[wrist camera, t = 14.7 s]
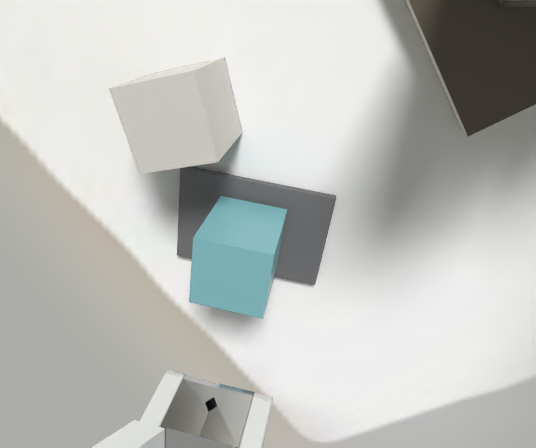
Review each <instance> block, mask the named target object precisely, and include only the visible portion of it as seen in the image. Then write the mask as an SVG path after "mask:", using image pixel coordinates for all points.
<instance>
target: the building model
mask: <svg viewBox="0 0 536 448" xmlns="http://www.w3.org/2000/svg"><path fill="white" fill-rule="evenodd" d="M405 1H406V4H407V6H408V8H409V11H410V13H411V15H412V17H413V20H414V22H415V24H416V27H417V29H418V31H419V33H420V36H421V38H422V40H423V43H424V45H425V47H426V50H427V52H428V54H429V56H430V59H431V61H432V63H433V66H434V68H435V70H436V72H437V75H438V77H439V79H440V82H441V84H442V86H443V88H444V91H445V93H446V95H447V98H448V100H449V102H450V104H451V107H452V109H453V111H454V114H455V116H456V118H457V121H458V123H459V125H460V127H461V129H462V130H463V131H464V132H465V133H466V134H467V136H470V135H472V134H474V133H476V132H478V131H480V130H482V129H484V128H486V127H488V126H491V125H493V124H495V123H497V122H499V121H501V120H503V119H505V118H507V117H509V116H512V115H514V114H516V113H518V112H520V111H522V110H524V109H526V108H528V107H530V106H532V105H535V104H536V0H405Z"/></svg>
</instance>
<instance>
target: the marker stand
mask: <svg viewBox="0 0 536 448" xmlns="http://www.w3.org/2000/svg"><path fill="white" fill-rule="evenodd" d="M221 196H224V197H229V198H234V199H239V200H244V201H249V202H254V203H259V204H264V205H268V206H273V207H278V208H283V209H287V214H286V220H285V225H284V231H283V236H282V242H281V247H280V252H279V258H278V263H277V268H276V272H275V275H274V276H277V277H281V278H286V279H290V280H295V281H300V282H304V283H309V284H314V285H315V283H316V278H317V274H318V270H319V266H320V262H321V258H322V254H323V250H324V246H325V242H326V237H327V233H328V229H329V225H330V221H331V217H332V213H333V209H334V205H335V201H336V196H335V195H330V194H325V193H320V192H315V191H310V190H305V189H300V188H294V187H289V186H284V185H279V184H274V183H269V182H264V181H259V180H254V179H249V178H244V177H239V176H234V175H229V174H224V173H219V172H214V171H209V170H204V169H199V168H194V167H183V168H181V173H180V197H179V220H178V244H177V255H179V256H184V257H189V258H192V250H193V237H194V236H195V234H196V233H197V231H198V230H199V228H200V227H201V225H202V224H203V222H204V221H205V219H206V218H207V216H208V215H209V213H210V212H211V210H212V209H213V207H214V206H215V204H216V203H217V201H218V200H219V198H220V197H221Z"/></svg>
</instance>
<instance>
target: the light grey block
mask: <svg viewBox="0 0 536 448" xmlns="http://www.w3.org/2000/svg"><path fill="white" fill-rule="evenodd" d="M109 90H110V93H111V95H112V98H113V101H114V104H115V107H116V109H117V112H118V115H119V118H120V121H121V124H122V126H123V129H124V132H125V135H126V138H127V140H128V143H129V146H130V149H131V152H132V154H133V157H134V160H135V163H136V166H137V168H138V171H139V174H144V173H150V172H157V171H164V170H170V169H177V168H183V167H190V166H196V165H203V164H210V163H216V162H219V160H220V159H221V158H222V157H223V156H224V154H225V153H226V152H227V151H228V150H229V148H230V147H231V146H232V145H233V144H234V142H235V141H236V140H237V139H238V137H239V136H240V135H241V134H242V129H241V124H240V120H239V116H238V112H237V107H236V103H235V99H234V94H233V90H232V86H231V82H230V77H229V73H228V69H227V64H226V60H225V58H221V59H216V60H212V61H207V62H202V63H198V64H193V65H188V66H184V67H179V68H174V69H170V70H165V71H161V72H156V73H153V74H150V75H147V76H144V77H141V78H138V79H135V80H133V81H130V82H127V83H124V84H121V85H118V86H115V87H112V88H109Z"/></svg>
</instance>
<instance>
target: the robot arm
mask: <svg viewBox="0 0 536 448" xmlns="http://www.w3.org/2000/svg"><path fill="white" fill-rule="evenodd" d="M254 393H255V392H251V391H247V390H243V389H239V388H235V387H231V386H227V385H223V384H216V383H213V382H210V381H206V380H203V379H199V378H196V377H192V376H189V375H186V374H182V373H178V372H175V371H171V370H168V371H167V372H166V373H165V374H164V376H163V378H162V380H161V381H160V383H159V385H158V387H157V389H156V391H155V393H154V395H153V397H152V398H151V400H150V402H149V404H148V406H147V407H146V409H145V411H144V413H143V415H142V417H141V419H140V421H137V420H133V421H132V422H130V423H129V424H127V425H126V426H124V427H122V428H121V429H119V430H118V431H117V432H115V433H113V434H111V435H110V436H108V437H107V438H105V439H104V440H102V441H101V442H99V443H98V444H96V445H95V446H93V447H92V448H263V443H264V438H265V434H266V429H267V424H268V420H269V414H270V410H271V405H272V400H273V397H269V396H265V395H261V394H257V393H255V394H254Z"/></svg>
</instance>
